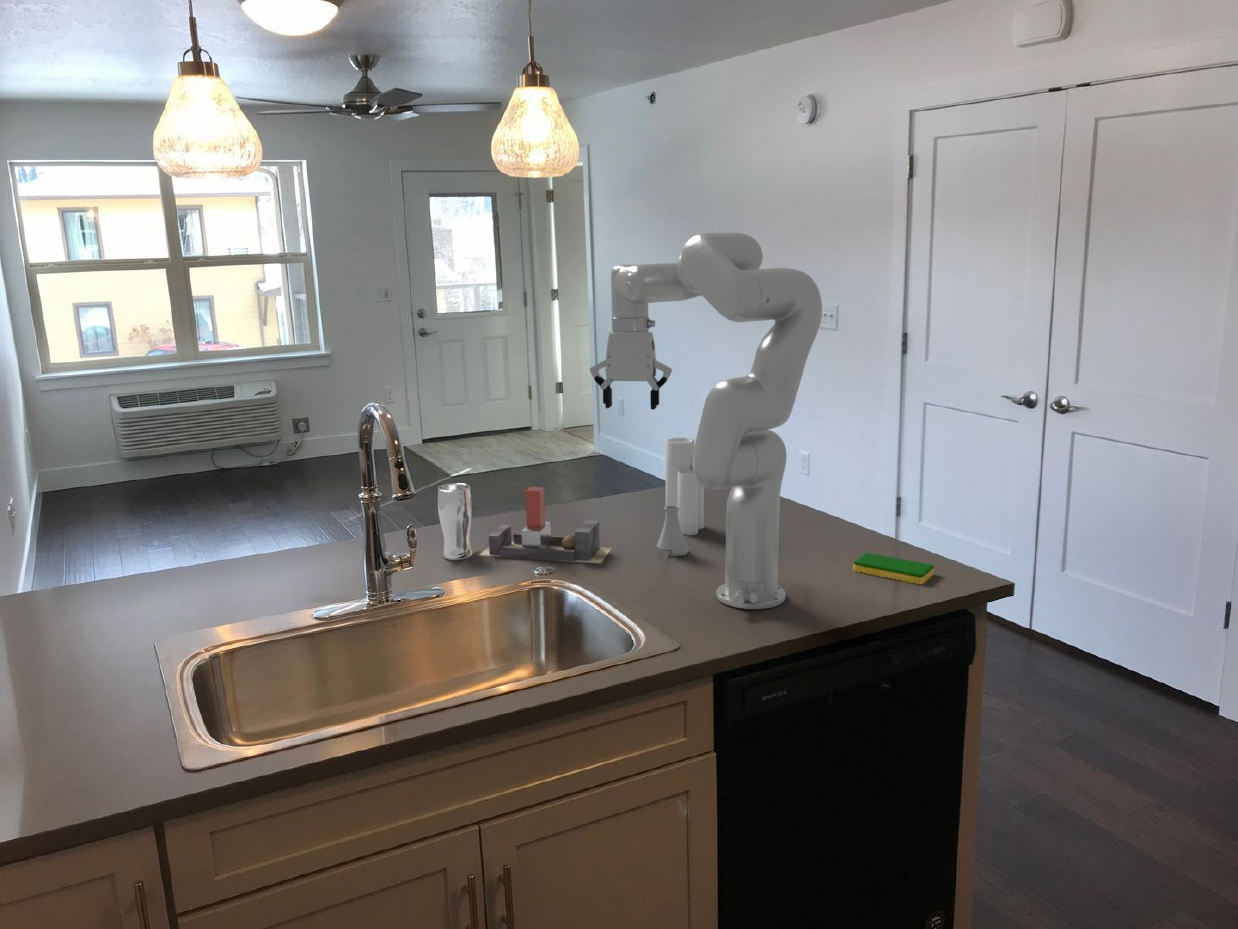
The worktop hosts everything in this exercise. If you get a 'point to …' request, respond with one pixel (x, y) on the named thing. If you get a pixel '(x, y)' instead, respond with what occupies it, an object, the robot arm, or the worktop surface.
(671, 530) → the flask
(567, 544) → the walnut
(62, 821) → the worktop surface
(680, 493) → the vase
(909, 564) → the dish sponge
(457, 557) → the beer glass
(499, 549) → the cracker board
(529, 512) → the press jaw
